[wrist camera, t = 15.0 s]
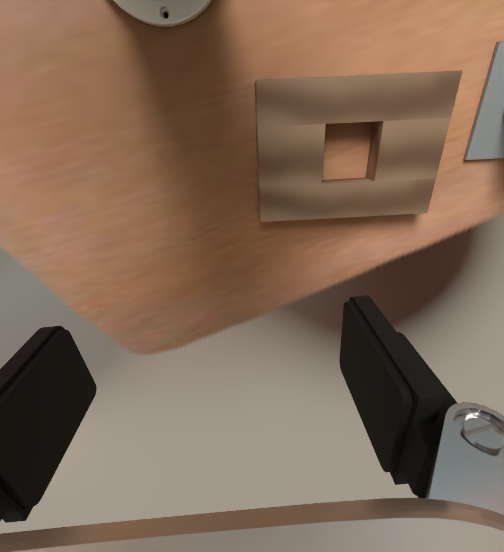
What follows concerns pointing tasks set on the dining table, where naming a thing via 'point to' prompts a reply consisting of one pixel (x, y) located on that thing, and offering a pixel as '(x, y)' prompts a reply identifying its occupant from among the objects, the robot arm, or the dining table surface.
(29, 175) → the dining table surface
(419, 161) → the brown board with hole
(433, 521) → the robot arm
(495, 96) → the rubber mat
